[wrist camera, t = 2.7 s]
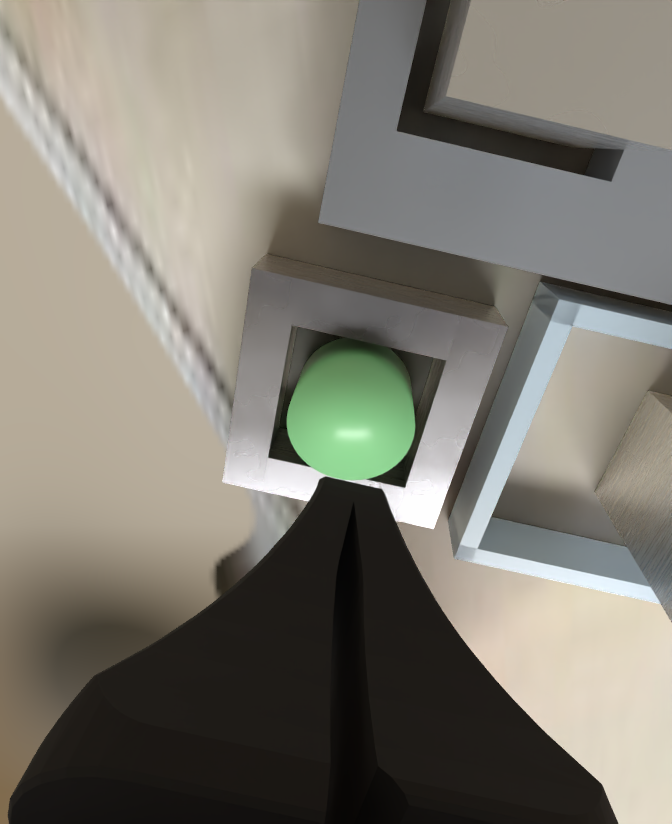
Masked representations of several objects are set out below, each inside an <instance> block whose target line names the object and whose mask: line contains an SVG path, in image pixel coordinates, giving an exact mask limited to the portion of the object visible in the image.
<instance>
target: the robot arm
mask: <svg viewBox="0 0 672 824" xmlns="http://www.w3.org/2000/svg"><path fill="white" fill-rule="evenodd" d="M8 820H9V824H618V822H617V819H616V817H615V815H614V812H613V810H612V808H611V805H610V803H609V800H608V798H607V796H606V793H605V791H604V788H603V786H602V784H601V783H600V782H599V781H598V780H597V779H596V778H594V777H593V776H592V775H591V774H590V773H589V772H588V771H587V770H586V769H585V768H584V767H582V766H581V765H580V764H579V763H578V762H577V761H576V760H575V759H574V758H573V757H571V756H570V755H569V754H568V753H567V752H566V751H565V750H564V749H563V748H562V747H561V746H559V745H558V744H557V743H556V742H555V741H554V740H553V739H552V738H551V737H550V736H549V735H547V734H546V733H545V732H544V731H543V730H542V729H541V728H540V727H539V726H538V725H537V724H536V723H535V722H534V720H533V719H532V718H531V717H530V716H529V715H528V714H527V713H526V712H525V711H524V710H523V709H522V708H521V707H520V706H519V705H518V704H517V703H516V702H515V701H514V700H513V699H512V698H511V697H510V695H509V694H508V693H507V692H506V691H505V690H504V689H503V688H502V687H501V685H500V684H499V683H498V682H497V681H496V680H495V679H494V677H493V676H492V675H491V674H490V673H489V671H488V670H487V669H486V668H485V667H484V665H483V664H482V663H481V662H480V661H479V659H478V658H477V657H476V656H475V655H474V653H473V652H472V651H471V650H470V648H469V647H468V646H467V645H466V643H465V642H464V641H463V639H462V638H461V637H460V635H459V634H458V633H457V631H456V630H455V628H454V627H453V625H452V624H451V623H450V621H449V620H448V618H447V617H446V615H445V614H444V612H443V611H442V609H441V607H440V606H439V604H438V603H437V601H436V599H435V598H434V596H433V594H432V593H431V591H430V589H429V588H428V586H427V584H426V582H425V581H424V579H423V577H422V575H421V573H420V572H419V570H418V568H417V566H416V564H415V562H414V560H413V558H412V556H411V554H410V552H409V550H408V548H407V546H406V544H405V542H404V539H403V537H402V535H401V533H400V531H399V528H398V526H397V523H396V521H395V519H394V516H393V514H392V511H391V509H390V506H389V503H388V500H387V497H386V495H385V493H384V491H383V490H382V489H380V488H375V487H371V486H366V485H362V484H358V483H353V482H349V481H344V480H340V479H335V478H331V477H327V476H325V477H323V478H321V479H319V481H318V485H317V487H316V489H315V491H314V493H313V495H312V497H311V499H310V500H309V502H308V503H307V505H306V507H305V508H304V510H303V511H302V512H301V514H300V515H299V516H298V518H297V519H296V520H295V522H294V523H293V524H292V526H291V527H290V528H289V530H288V531H287V532H286V533H285V535H284V536H283V537H282V538H281V539H280V540H279V541H278V542H277V543H276V545H275V546H274V547H273V548H272V549H271V550H270V551H269V552H268V554H267V555H266V556H265V557H264V558H263V559H262V560H261V561H260V562H259V563H258V564H257V565H256V566H255V567H254V568H253V569H252V570H251V571H250V572H248V573H247V574H246V575H245V576H244V577H243V578H242V579H241V580H240V581H239V582H237V583H236V584H235V585H234V586H233V587H231V588H230V589H229V590H228V591H227V592H225V593H224V594H223V595H222V596H220V597H219V598H218V599H217V600H216V601H214V602H213V603H212V604H210V605H209V606H208V607H206V608H205V609H204V610H202V611H201V612H200V613H198V614H197V615H196V616H194V617H193V618H191V619H189V620H188V621H186V622H185V623H183V624H182V625H181V626H179V627H178V628H176V629H175V630H173V631H171V632H170V633H169V634H167V635H165V636H164V637H162V638H161V639H159V640H158V641H156V642H155V643H153V644H151V645H150V646H148V647H146V648H144V649H142V650H141V651H139V652H137V653H135V654H133V655H132V656H130V657H128V658H126V659H124V660H122V661H121V662H119V663H117V664H115V665H113V666H111V667H110V668H108V669H106V670H104V671H102V672H100V673H98V674H96V675H95V676H94V677H93V678H92V679H91V680H90V681H89V682H88V683H87V684H86V686H85V687H84V688H83V689H82V690H81V692H80V693H79V694H78V695H77V696H76V698H75V699H74V700H73V701H72V702H71V704H70V705H69V707H68V708H67V709H66V710H65V711H64V713H63V714H62V715H61V717H60V718H59V719H58V721H57V722H56V724H55V725H54V726H53V728H52V729H51V731H50V732H49V733H48V735H47V736H46V737H45V739H44V741H43V742H42V744H41V745H40V747H39V749H38V750H37V752H36V754H35V755H34V757H33V759H32V761H31V763H30V764H29V766H28V768H27V770H26V771H25V773H24V775H23V777H22V778H21V780H20V782H19V784H18V785H17V787H16V789H15V791H14V792H13V795H12V796H11V798H10V803H9V810H8Z"/></svg>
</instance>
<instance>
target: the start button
mask: <svg viewBox="0 0 672 824" xmlns="http://www.w3.org/2000/svg"><path fill="white" fill-rule="evenodd" d="M287 430H288V435H289V438H290V441H291V443H292V445H293V447H294V449H295V451H296V452H297V454H298V455H299V456H300V457H301V458H302V459H303V460H304V461H305V462H306V463H307V464H308V465H309V466H311V467H312V468H313V469H315V470H317V471H318V472H320V473H322V474H325V475H327V476H330V477H333V478H337V479H343V480H363V479H369V478H372V477H376V476H378V475H381V474H383V473H385V472H387V471H388V470H390V469H392V468H393V467H394V466H396V465H397V464H398V463H399V462H400V461H401V460H402V459H403V457H404V456H405V455H406V454H407V452H408V450H409V448H410V446H411V444H412V441H413V438H414V434H415V416H414V406H413V397H412V387H411V381H410V376H409V373H408V371H407V369H406V367H405V365H404V363H403V362H402V360H401V359H400V358H399V357H398V356H397V355H396V354H395V353H394V352H393V351H392V350H391V349H389V348H388V347H385V346H381V345H376V344H372V343H368V342H363V341H359V340H355V339H350V338H341V339H337V340H334V341H331V342H329V343H327V344H325V345H323V346H322V347H320V348H319V349H317V350H316V351H315V352H314V353H313V354H312V355H311V356H310V358H309V359H308V360H307V362H306V363H305V365H304V367H303V369H302V372H301V374H300V377H299V380H298V383H297V385H296V388H295V391H294V394H293V397H292V399H291V402H290V405H289V409H288V412H287Z"/></svg>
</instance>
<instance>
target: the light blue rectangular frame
mask: <svg viewBox="0 0 672 824" xmlns="http://www.w3.org/2000/svg"><path fill="white" fill-rule="evenodd" d="M572 326H574V327H578V328H582V329H587V330H591V331H595V332H600V333H604V334H608V335H613V336H617V337H621V338H626V339H630V340H634V341H639V342H643V343H647V344H652V345H656V346H660V347H665V348H669V349H672V312H670V311H665V310H661V309H657V308H652V307H648V306H644V305H639V304H635V303H631V302H626V301H622V300H618V299H614V298H609V297H605V296H601V295H596V294H592V293H588V292H583V291H579V290H575V289H570V288H566V287H562V286H557V285H553V284H549V283H545V282H539V285H538V287H537V290H536V292H535V295H534V298H533V300H532V303H531V305H530V308H529V311H528V313H527V316H526V319H525V321H524V324H523V326H522V329H521V332H520V334H519V337H518V339H517V342H516V345H515V347H514V350H513V353H512V355H511V358H510V360H509V363H508V366H507V368H506V371H505V373H504V376H503V379H502V381H501V384H500V386H499V389H498V392H497V394H496V397H495V400H494V402H493V405H492V407H491V410H490V413H489V415H488V418H487V420H486V423H485V426H484V428H483V431H482V434H481V436H480V439H479V441H478V444H477V447H476V449H475V452H474V454H473V457H472V460H471V462H470V465H469V467H468V470H467V473H466V475H465V478H464V481H463V483H462V486H461V488H460V491H459V494H458V496H457V499H456V501H455V504H454V507H453V509H452V512H451V515H450V517H449V520H448V525H449V531H450V537H451V543H452V549H453V555H454V559H458V560H463V561H467V562H472V563H476V564H481V565H486V566H490V567H495V568H499V569H504V570H508V571H513V572H517V573H522V574H527V575H531V576H536V577H540V578H545V579H549V580H554V581H558V582H563V583H568V584H572V585H577V586H581V587H586V588H590V589H595V590H599V591H604V592H609V593H613V594H618V595H622V596H627V597H631V598H636V599H640V600H645V601H650V602H654V603H659V604H661V603H660V602H659V600H658V598H657V597H656V595H655V593H654V592H653V590H652V588H651V587H650V585H649V583H648V582H647V580H646V578H645V576H644V575H643V573H642V571H641V570H640V568H639V566H638V565H637V563H636V561H635V560H634V558H633V556H632V554H631V553H630V551H629V549H628V548H627V547H625V546H621V545H616V544H612V543H607V542H603V541H598V540H594V539H589V538H585V537H580V536H576V535H571V534H567V533H562V532H558V531H553V530H549V529H544V528H540V527H535V526H531V525H526V524H521V523H517V522H512V521H508V520H503V519H499V518H494V517H491V516H492V513H493V511H494V509H495V506H496V504H497V502H498V499H499V497H500V495H501V492H502V490H503V487H504V485H505V483H506V480H507V478H508V476H509V473H510V471H511V469H512V466H513V464H514V462H515V459H516V457H517V455H518V452H519V450H520V448H521V445H522V443H523V441H524V438H525V436H526V434H527V431H528V429H529V427H530V424H531V422H532V419H533V417H534V415H535V412H536V410H537V408H538V405H539V403H540V401H541V398H542V396H543V394H544V391H545V389H546V387H547V384H548V382H549V380H550V377H551V375H552V373H553V370H554V368H555V366H556V363H557V361H558V358H559V356H560V354H561V351H562V349H563V347H564V344H565V342H566V340H567V337H568V335H569V333H570V330H571V328H572Z"/></svg>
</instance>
